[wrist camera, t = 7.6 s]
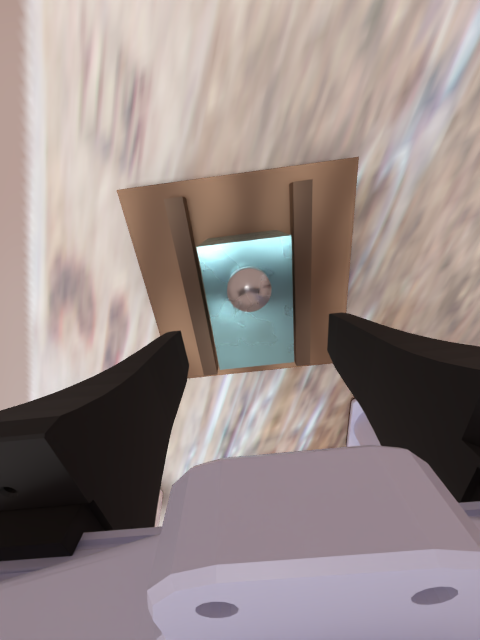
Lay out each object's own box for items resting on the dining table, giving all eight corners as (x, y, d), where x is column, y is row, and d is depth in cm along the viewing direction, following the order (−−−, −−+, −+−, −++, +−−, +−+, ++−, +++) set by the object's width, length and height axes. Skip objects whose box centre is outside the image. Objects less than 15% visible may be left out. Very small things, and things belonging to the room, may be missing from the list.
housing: (280, 328, 20) (297, 369, 14) (223, 334, 20) (218, 377, 15) (276, 229, 16) (295, 236, 11) (207, 238, 17) (194, 249, 11)
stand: (348, 162, 16) (368, 152, 14) (335, 353, 23) (347, 370, 20) (126, 192, 17) (107, 187, 14) (177, 370, 23) (170, 388, 21)
